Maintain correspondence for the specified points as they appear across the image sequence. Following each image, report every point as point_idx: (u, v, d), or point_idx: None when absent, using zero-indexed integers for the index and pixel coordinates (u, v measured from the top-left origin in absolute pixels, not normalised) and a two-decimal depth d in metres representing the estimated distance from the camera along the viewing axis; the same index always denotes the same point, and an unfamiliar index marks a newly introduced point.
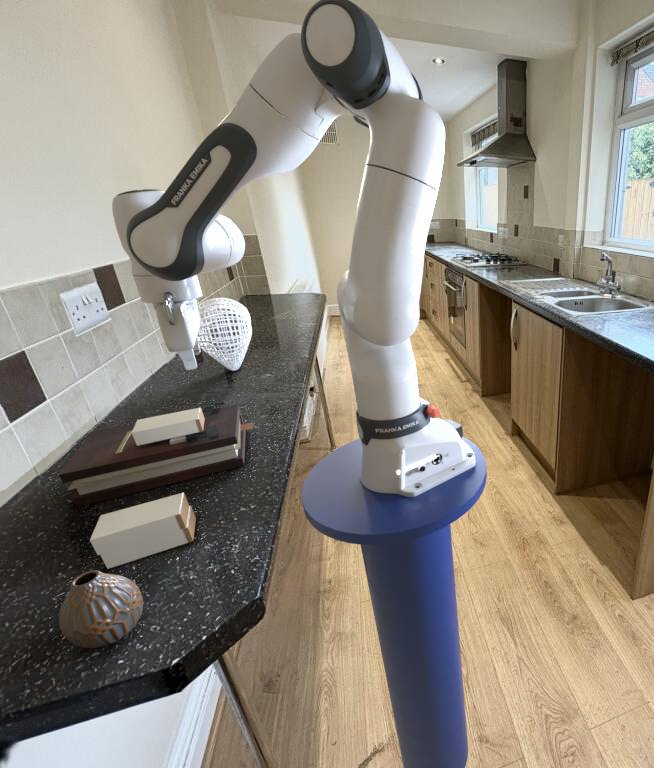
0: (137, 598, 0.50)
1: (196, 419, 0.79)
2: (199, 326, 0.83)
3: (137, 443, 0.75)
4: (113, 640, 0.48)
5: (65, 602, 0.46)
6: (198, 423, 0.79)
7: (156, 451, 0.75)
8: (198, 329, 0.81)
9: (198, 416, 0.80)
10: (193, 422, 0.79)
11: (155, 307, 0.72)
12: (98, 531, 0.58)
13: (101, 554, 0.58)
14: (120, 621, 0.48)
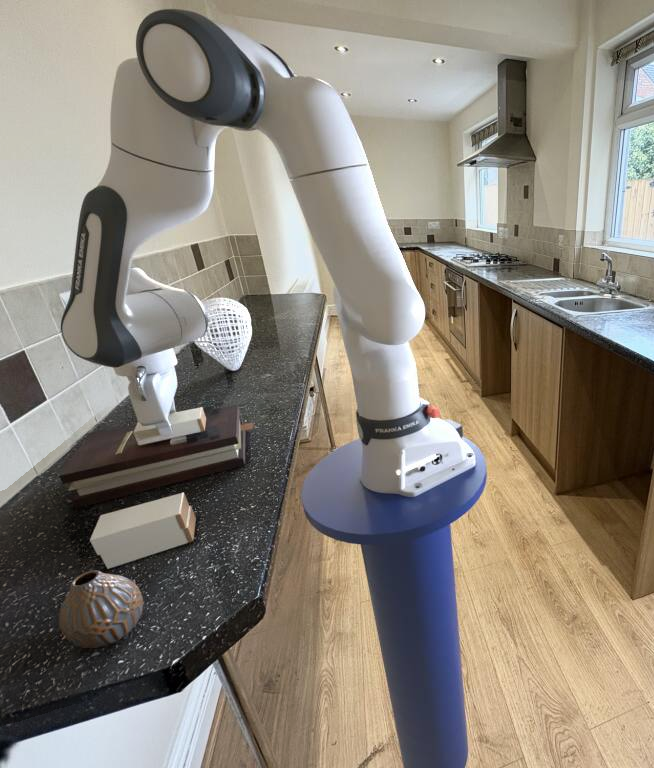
0: (137, 598, 0.50)
1: (198, 419, 0.79)
2: (176, 388, 0.84)
3: (139, 443, 0.75)
4: (113, 640, 0.48)
5: (65, 602, 0.46)
6: (200, 423, 0.80)
7: (156, 452, 0.75)
8: (174, 393, 0.82)
9: (200, 416, 0.80)
10: (195, 422, 0.79)
11: (129, 378, 0.73)
12: (98, 531, 0.58)
13: (101, 554, 0.58)
14: (120, 621, 0.48)
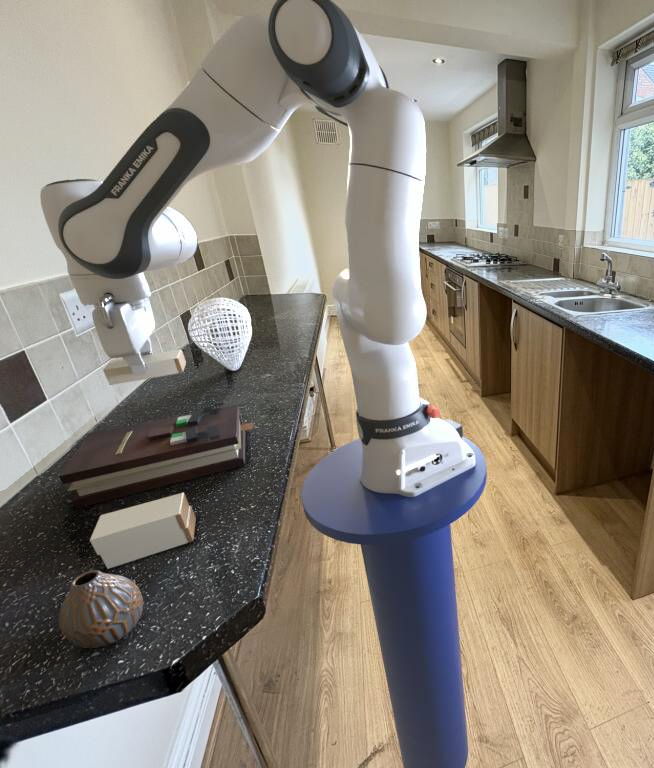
0: (137, 598, 0.50)
1: (175, 358, 0.73)
2: (153, 329, 0.77)
3: (110, 382, 0.69)
4: (113, 640, 0.48)
5: (65, 602, 0.46)
6: (177, 363, 0.73)
7: (156, 452, 0.75)
8: (150, 332, 0.75)
9: (177, 356, 0.74)
10: (172, 361, 0.72)
11: None
12: (98, 531, 0.58)
13: (101, 554, 0.58)
14: (120, 621, 0.48)
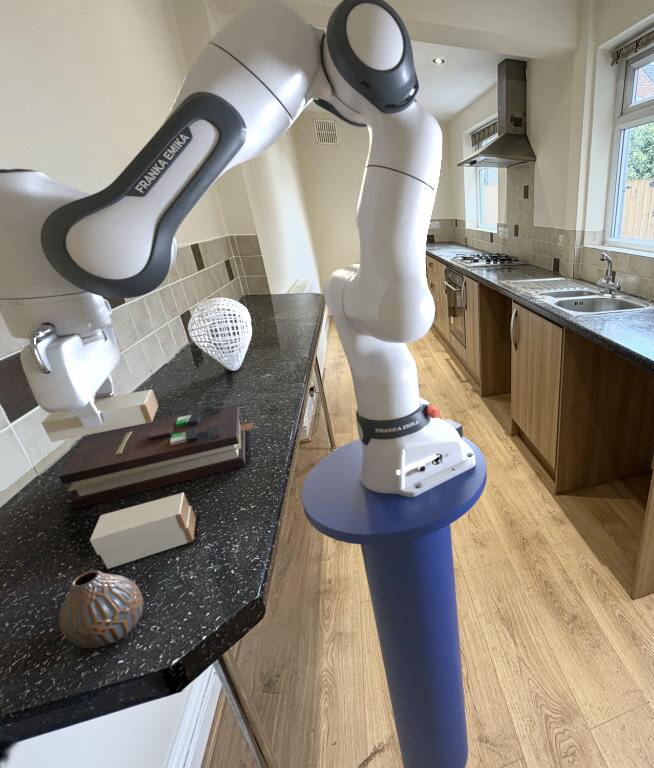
0: (137, 598, 0.50)
1: (141, 404, 0.56)
2: (116, 363, 0.60)
3: (51, 438, 0.52)
4: (113, 640, 0.48)
5: (65, 602, 0.46)
6: (144, 410, 0.56)
7: (156, 452, 0.75)
8: (112, 368, 0.58)
9: (145, 401, 0.57)
10: (137, 409, 0.55)
11: None
12: (98, 531, 0.58)
13: (101, 554, 0.58)
14: (120, 621, 0.48)
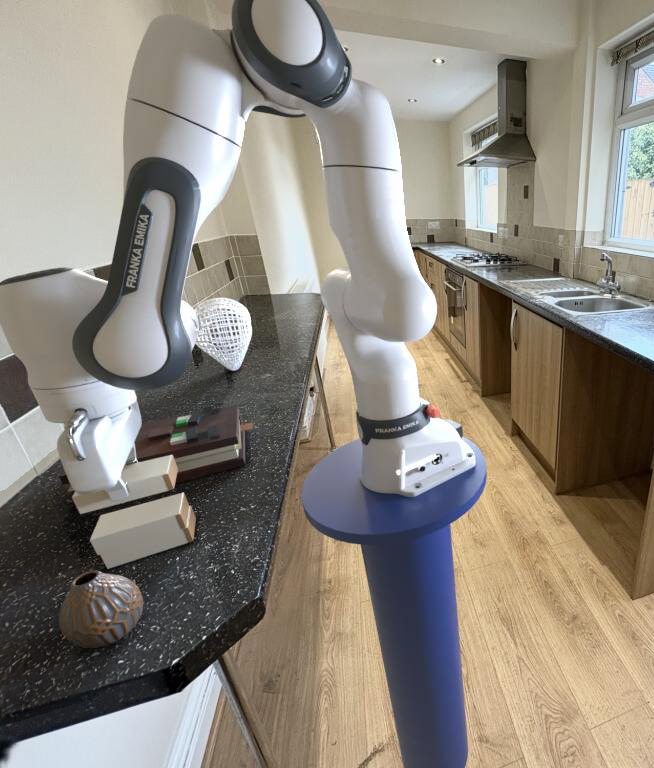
0: (137, 598, 0.50)
1: (164, 474, 0.59)
2: (139, 429, 0.64)
3: (80, 511, 0.55)
4: (113, 640, 0.48)
5: (65, 602, 0.46)
6: (167, 479, 0.59)
7: (157, 452, 0.75)
8: (135, 437, 0.61)
9: (167, 469, 0.60)
10: (160, 478, 0.58)
11: None
12: (98, 531, 0.58)
13: (101, 554, 0.58)
14: (120, 621, 0.48)
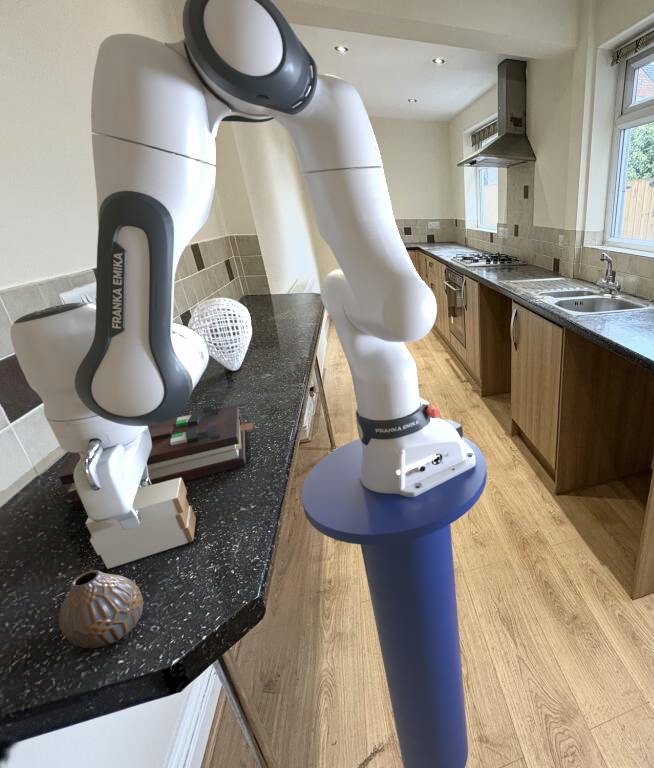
0: (137, 598, 0.50)
1: (174, 498, 0.60)
2: (149, 452, 0.65)
3: (94, 535, 0.56)
4: (113, 640, 0.48)
5: (65, 602, 0.46)
6: (177, 503, 0.61)
7: (157, 452, 0.75)
8: (146, 461, 0.63)
9: (177, 493, 0.61)
10: (170, 502, 0.60)
11: (80, 453, 0.54)
12: None
13: (101, 554, 0.58)
14: (120, 621, 0.48)
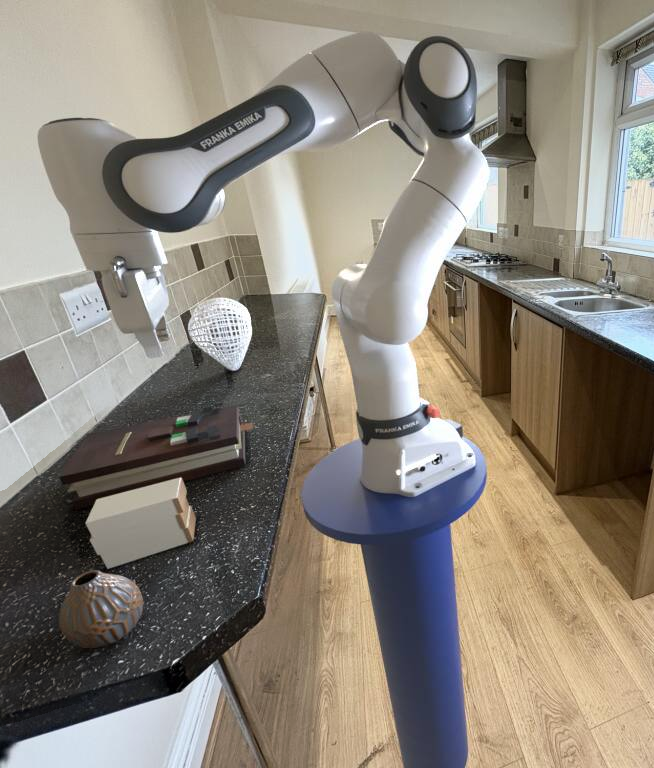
0: (137, 598, 0.50)
1: (174, 498, 0.60)
2: (167, 305, 0.67)
3: (94, 535, 0.56)
4: (113, 640, 0.48)
5: (65, 602, 0.46)
6: (177, 503, 0.61)
7: (157, 452, 0.75)
8: (165, 308, 0.65)
9: (177, 493, 0.61)
10: (170, 502, 0.60)
11: None
12: None
13: (101, 554, 0.58)
14: (120, 621, 0.48)
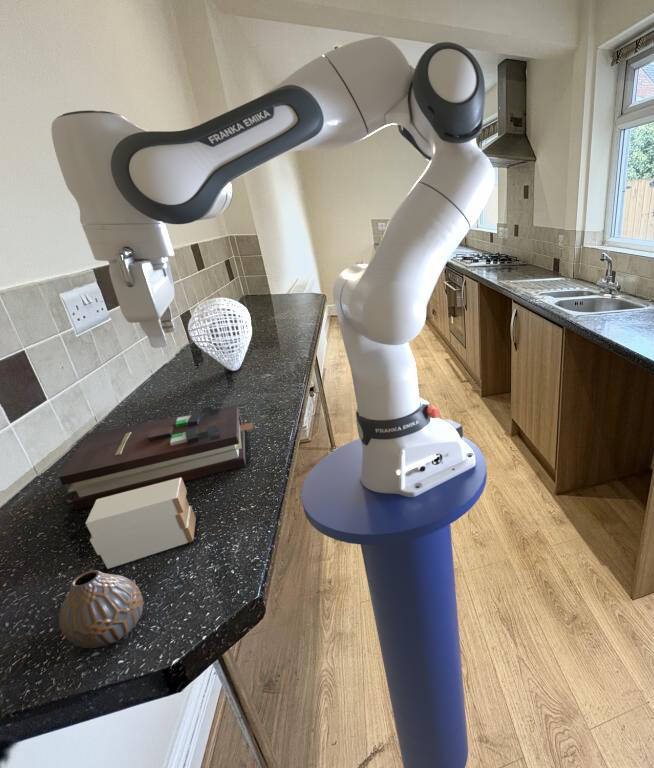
0: (137, 598, 0.50)
1: (174, 498, 0.60)
2: (173, 297, 0.68)
3: (94, 535, 0.56)
4: (113, 640, 0.48)
5: (65, 602, 0.46)
6: (177, 503, 0.61)
7: (157, 452, 0.75)
8: (171, 300, 0.66)
9: (177, 493, 0.61)
10: (170, 502, 0.60)
11: None
12: None
13: (101, 554, 0.58)
14: (120, 621, 0.48)
